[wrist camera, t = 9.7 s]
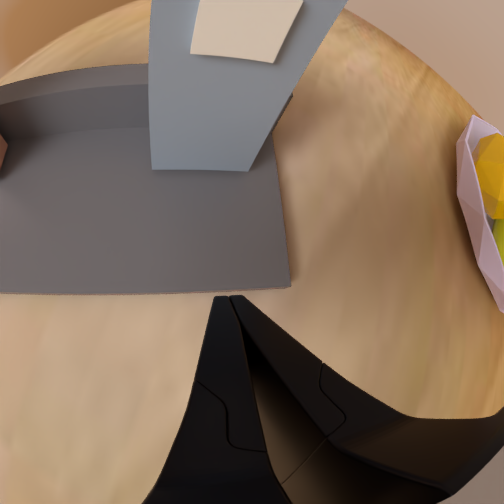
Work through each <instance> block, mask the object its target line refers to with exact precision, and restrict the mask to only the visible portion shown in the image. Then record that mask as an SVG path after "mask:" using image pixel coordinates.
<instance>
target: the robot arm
mask: <svg viewBox="0 0 504 504" xmlns="http://www.w3.org/2000/svg"><path fill="white" fill-rule="evenodd" d="M142 504H504V406H503V407H502V408H501V409H500V410H499V411H498V412H497V413H496V414H495V415H493V416H490V417H485V418H476V419H426V418H415V417H411V416H408V415H405V414H402V413H400V412H398V411H396V410H395V409H393V408H391V407H390V406H388V405H386V404H384V403H383V402H381V401H379V400H378V399H376V398H374V397H373V396H371V395H369V394H368V393H366V392H365V391H363V390H361V389H360V388H358V387H357V386H355V385H354V384H352V383H351V382H349V381H348V380H346V379H345V378H344V377H342V376H341V375H340V374H338V373H337V372H335V371H334V370H333V369H332V368H330V367H329V366H328V365H327V364H325V363H322V361H321V360H320V359H319V358H318V357H316V356H315V355H314V354H313V353H311V352H310V351H309V350H308V349H306V348H305V347H304V346H303V345H302V344H300V343H299V342H298V341H297V340H295V339H294V338H293V337H292V336H291V335H289V334H288V333H287V332H286V331H285V330H283V329H282V328H281V327H280V326H278V325H277V324H276V323H275V322H274V321H272V320H271V319H270V318H269V317H268V316H267V315H265V314H264V313H263V312H262V311H261V310H259V309H258V308H257V307H256V306H255V305H254V304H252V303H251V302H250V301H249V300H248V299H247V298H245V297H244V296H243V295H231V296H229V297H228V296H215V297H214V299H213V303H212V307H211V311H210V315H209V319H208V323H207V327H206V331H205V335H204V339H203V344H202V348H201V352H200V356H199V360H198V365H197V369H196V373H195V377H194V382H193V385H192V390H191V394H190V398H189V401H188V405H187V409H186V411H185V414H184V417H183V420H182V422H181V425H180V428H179V430H178V433H177V435H176V438H175V440H174V442H173V445H172V447H171V450H170V452H169V455H168V457H167V459H166V462H165V464H164V467H163V469H162V471H161V473H160V475H159V477H158V479H157V481H156V483H155V485H154V487H153V488H152V490H151V491H150V493H149V494H148V495H147V497H146V498H145V500H144V501H143V502H142Z"/></svg>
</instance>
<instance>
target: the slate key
mask: <svg viewBox="0 0 504 504" xmlns="http://www.w3.org/2000/svg"><path fill="white" fill-rule="evenodd" d="M347 1H348V0H152V3H151V16H150V33H149V64H148V97H149V130H150V148H151V163H152V170H223V171H246V172H248V171H249V169H250V167H251V165H252V163H253V161H254V160H255V158H256V156H257V154H258V152H259V150H260V148H261V147H262V145H263V143H264V141H265V139H266V137H267V136H268V134H269V132H270V130H271V128H272V127H273V125H274V123H275V121H276V119H277V118H278V116H279V114H280V112H281V111H282V109H283V107H284V105H285V103H286V102H287V100H288V98H289V96H290V95H291V93H292V91H293V89H294V88H295V86H296V84H297V83H298V81H299V79H300V77H301V76H302V74H303V72H304V71H305V69H306V67H307V66H308V64H309V62H310V61H311V59H312V57H313V56H314V54H315V52H316V51H317V49H318V47H319V46H320V44H321V42H322V41H323V39H324V38H325V36H326V34H327V33H328V31H329V29H330V28H331V26H332V25H333V23H334V21H335V20H336V18H337V17H338V15H339V14H340V12H341V10H342V9H343V7H344V6H345V4H346V3H347Z"/></svg>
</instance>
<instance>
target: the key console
mask: <svg viewBox="0 0 504 504" xmlns="http://www.w3.org/2000/svg"><path fill="white" fill-rule="evenodd" d="M292 97H293V94H292V93H291V95H290V96H289V98H288V100H287V102H286V103H285V105H284V107H283V109H282V111H281V112H280V114H279V116H278V118H277V119H276V121H275V123H274V125H273V127H272V128H271V130H270V132H269V134H268V136H267V137H266V139H265V141H264V143H263V145H262V147H261V148H260V150H259V152H258V154H257V156H256V158H255V160H254V161H253V163H252V165H251V167H250V169H249V171H248V172H246V171H223V170H152V163H151V148H150V130H149V97H148V64H128V65H113V66H102V67H92V68H84V69H77V70H70V71H64V72H58V73H53V74H48V75H43V76H38V77H34V78H29V79H25V80H21V81H17V82H14V83H10V84H7V85H3V86H0V134H1V136H2V137H3V139H4V140H5V142H6V143H7V144H8V147H7V150H6V153H5V156H4V159H3V162H2V166H1V169H0V293H5V294H38V295H142V294H179V293H206V292H227V291H246V290H263V289H279V288H288V287H291V280H290V271H289V262H288V253H287V244H286V235H285V227H284V219H283V211H282V203H281V196H280V188H279V181H278V173H277V166H276V159H275V152H274V145H273V139H272V132H273V130H274V128H275V126H276V125H277V123H278V121H279V119H280V118H281V116H282V114H283V112H284V111H285V109H286V107H287V105H288V104H289V102H290V100H291V99H292Z"/></svg>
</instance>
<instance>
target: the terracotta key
mask: <svg viewBox="0 0 504 504" xmlns="http://www.w3.org/2000/svg"><path fill="white" fill-rule="evenodd" d="M7 147H8V144H7V143H6V142H5V140H4V139H3V137H2V136H1V134H0V169H1V166H2V162H3V159H4V156H5V153H6V150H7Z"/></svg>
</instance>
